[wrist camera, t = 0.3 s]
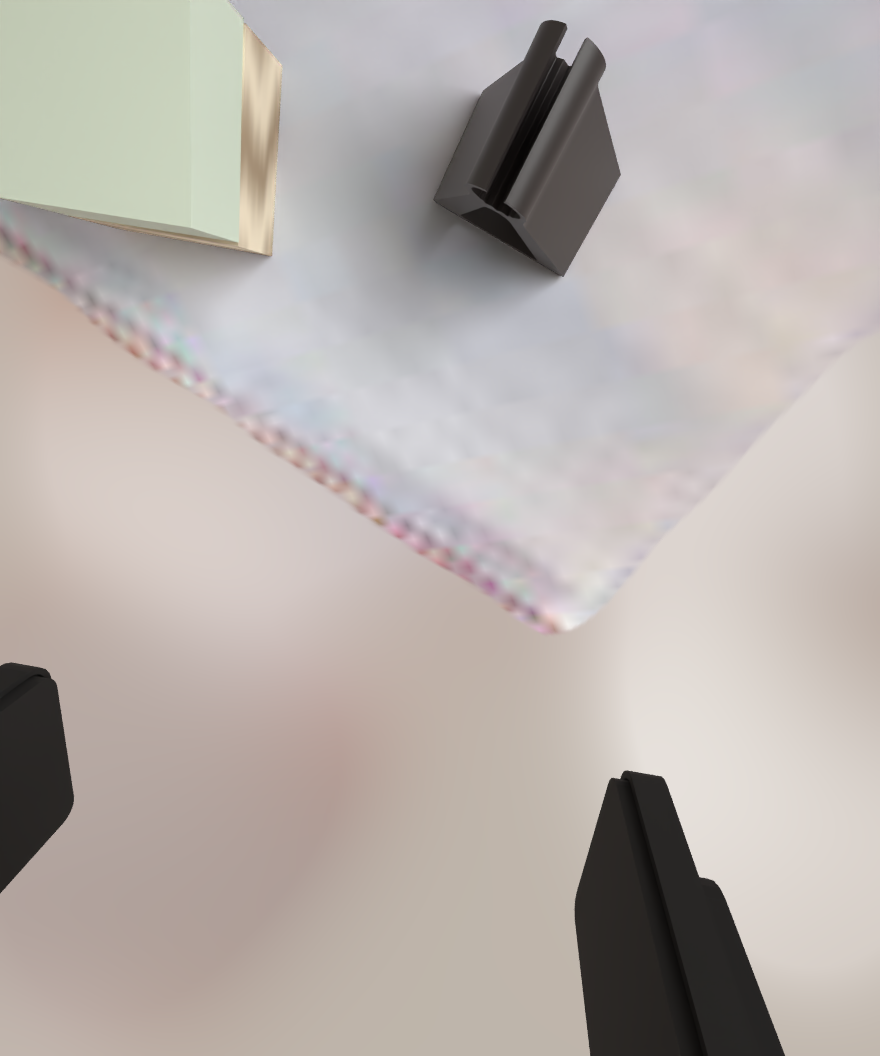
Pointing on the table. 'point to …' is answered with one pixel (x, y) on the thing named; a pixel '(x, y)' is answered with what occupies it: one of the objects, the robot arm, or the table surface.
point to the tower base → (249, 154)
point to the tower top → (124, 111)
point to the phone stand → (537, 154)
